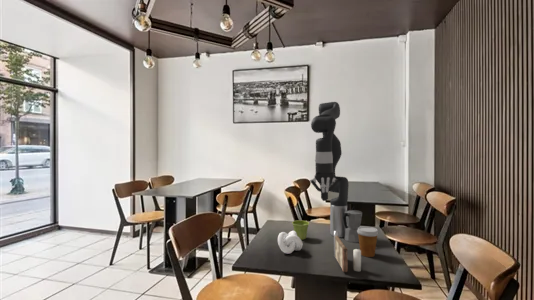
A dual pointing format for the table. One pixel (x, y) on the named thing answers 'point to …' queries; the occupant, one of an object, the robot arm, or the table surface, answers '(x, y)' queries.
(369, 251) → the disposable coffee cup
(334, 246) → the translucent grey rod
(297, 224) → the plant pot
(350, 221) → the coffeepot
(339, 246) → the brown flat block
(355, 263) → the post
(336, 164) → the robot arm
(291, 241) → the white decorative knot
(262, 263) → the table surface
